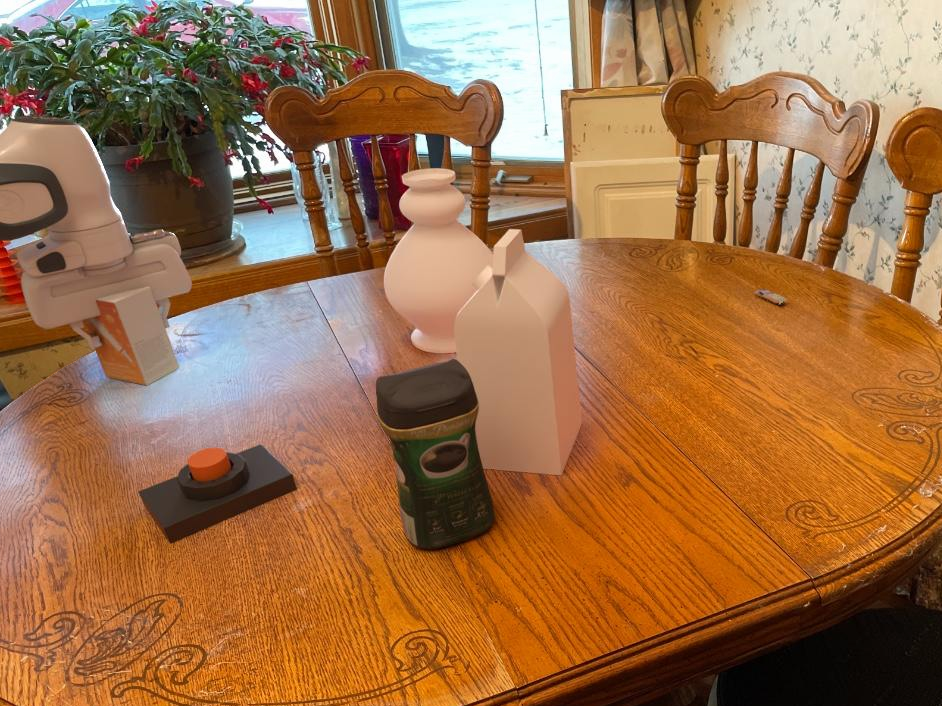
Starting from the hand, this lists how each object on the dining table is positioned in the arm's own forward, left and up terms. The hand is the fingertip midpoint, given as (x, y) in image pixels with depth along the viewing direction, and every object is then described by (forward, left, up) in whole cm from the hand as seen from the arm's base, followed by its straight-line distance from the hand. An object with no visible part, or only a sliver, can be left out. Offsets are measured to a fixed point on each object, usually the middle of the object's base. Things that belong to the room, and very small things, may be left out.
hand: (130, 337), depth 113 cm
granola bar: (+87, -49, -6) cm, 100 cm away
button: (-3, -40, -2) cm, 41 cm away
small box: (0, 0, -6) cm, 6 cm away
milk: (+29, -56, -6) cm, 63 cm away
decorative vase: (+40, -22, -6) cm, 46 cm away
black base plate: (-3, -40, -6) cm, 41 cm away
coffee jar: (+13, -63, -6) cm, 65 cm away
